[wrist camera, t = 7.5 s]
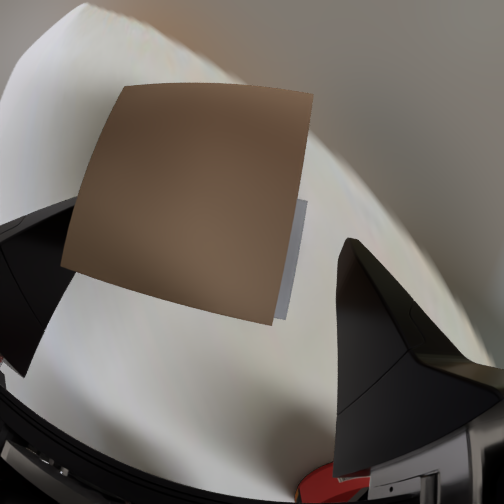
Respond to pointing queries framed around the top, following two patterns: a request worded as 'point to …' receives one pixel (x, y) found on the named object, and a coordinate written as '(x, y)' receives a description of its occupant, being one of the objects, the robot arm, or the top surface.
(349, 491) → the canned food
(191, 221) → the walnut block
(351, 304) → the robot arm
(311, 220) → the top surface
